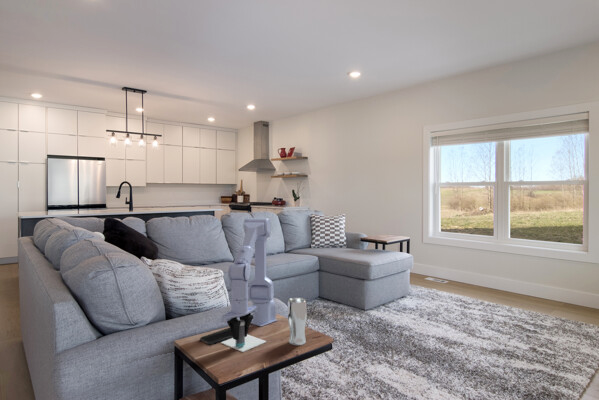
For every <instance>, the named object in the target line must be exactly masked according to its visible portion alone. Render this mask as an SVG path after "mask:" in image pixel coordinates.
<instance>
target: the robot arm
mask: <svg viewBox="0 0 599 400" xmlns="http://www.w3.org/2000/svg"><path fill="white" fill-rule="evenodd" d="M270 220H271V219H269V217H254V218H253V217H245V219H244V221H243V226H242V227H243V228H242V229H243V232H244V234H245V235H244V239H243V244H242V246H241V247H239V248H238V249H237V252H236V253H237V254H236V256H235V259H234V261H233V263H232V264H231V265H230V266H229V267H228V272H227V275H228V280H229V285H230V292H231V293H230V294H231V296H230V297H231V298H230V301H231V302H230V304H231V305H230V306H231V308H230V310H229V311H228V312H226V313H225V314H223V315H221V316H220V322H221V323H223V324H224V323H227V325H228V326H229V328H230V329H231V332H232V336H233V339H235V340H238V339H239V327H240V323H241V321H239V320H244V321H245V337H247V334H249V329H250V325H251V324H252V325H255V326H258V327H264V326H266V325H269V324H272V323H274V322H277V321H278V319H276V318H277V316H276V315H277V314H276V313H277V311H276V309H277V308H276V306H277V305H276V302H275V300H274V296H275V288H274V287H275V286H274V282H273V280H271V278H269V277H268V276H267V241H268V240H267V239H268V238H270V237H271V227H272V225H271V224H272V223H271V221H270ZM253 248H254V251H253ZM253 257H254V277H253V278H252V279H251V280H250V277H251V269H252V266H251V264H252V260H253ZM249 280H250V281H249ZM249 300H250V302H251V303H252V305H251V306H249Z"/></svg>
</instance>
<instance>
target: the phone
mask: <svg viewBox="0 0 599 400" xmlns="http://www.w3.org/2000/svg"><path fill="white" fill-rule="evenodd" d="M231 338H233V336H232V332H231V329H230V327H229V328H228V327H227V328H225V329H222V330H219V331H216V332H213V333H210V334H207V335H204V336H201V337H200V339H199V340H201V342H202V341H203V342H202V343H204V342H205V344H206V343H207V344H206V345H208V346H214V345H217V344H221V342H223V341H226V340H228V339H231Z"/></svg>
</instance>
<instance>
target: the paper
mask: <svg viewBox="0 0 599 400" xmlns="http://www.w3.org/2000/svg"><path fill="white" fill-rule="evenodd" d="M265 343H267V341H266V340H264V339H262V338H260V337H259V338H258V337H255V336H253V335H250V334H249V333H247V337H245V345H244V346H240V347H238V346H236V343H235V339H233V338H231V339H228V340H226V341H223V342H220V344H223V345H224V346H226V347H229V348H231V349H235V350H236V351H239V352H241V353H245V352H247V351H250V350H252V349H254V348H256V347H259V346H261V345H263V344H265Z"/></svg>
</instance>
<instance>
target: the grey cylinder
mask: <svg viewBox="0 0 599 400" xmlns="http://www.w3.org/2000/svg"><path fill="white" fill-rule="evenodd" d="M238 320H239V321H241V323H240V327H239V339H238V340H235V343H236V346H238V347H240V346H244V345H245V321H244V320H240V319H238Z"/></svg>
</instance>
